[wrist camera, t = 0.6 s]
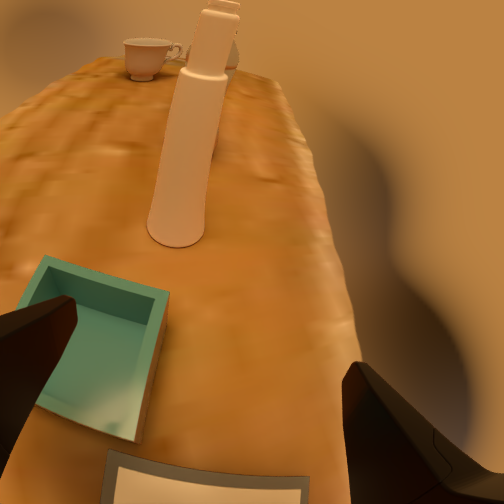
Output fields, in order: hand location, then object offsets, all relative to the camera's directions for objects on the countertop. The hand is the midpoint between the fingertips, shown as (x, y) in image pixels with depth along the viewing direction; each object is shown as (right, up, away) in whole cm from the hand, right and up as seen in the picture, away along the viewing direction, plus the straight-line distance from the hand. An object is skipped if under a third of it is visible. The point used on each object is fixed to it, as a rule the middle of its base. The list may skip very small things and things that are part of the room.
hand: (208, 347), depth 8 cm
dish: (-11, -5, +10) cm, 16 cm away
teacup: (-24, +45, +50) cm, 71 cm away
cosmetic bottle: (-7, +5, +21) cm, 23 cm away
